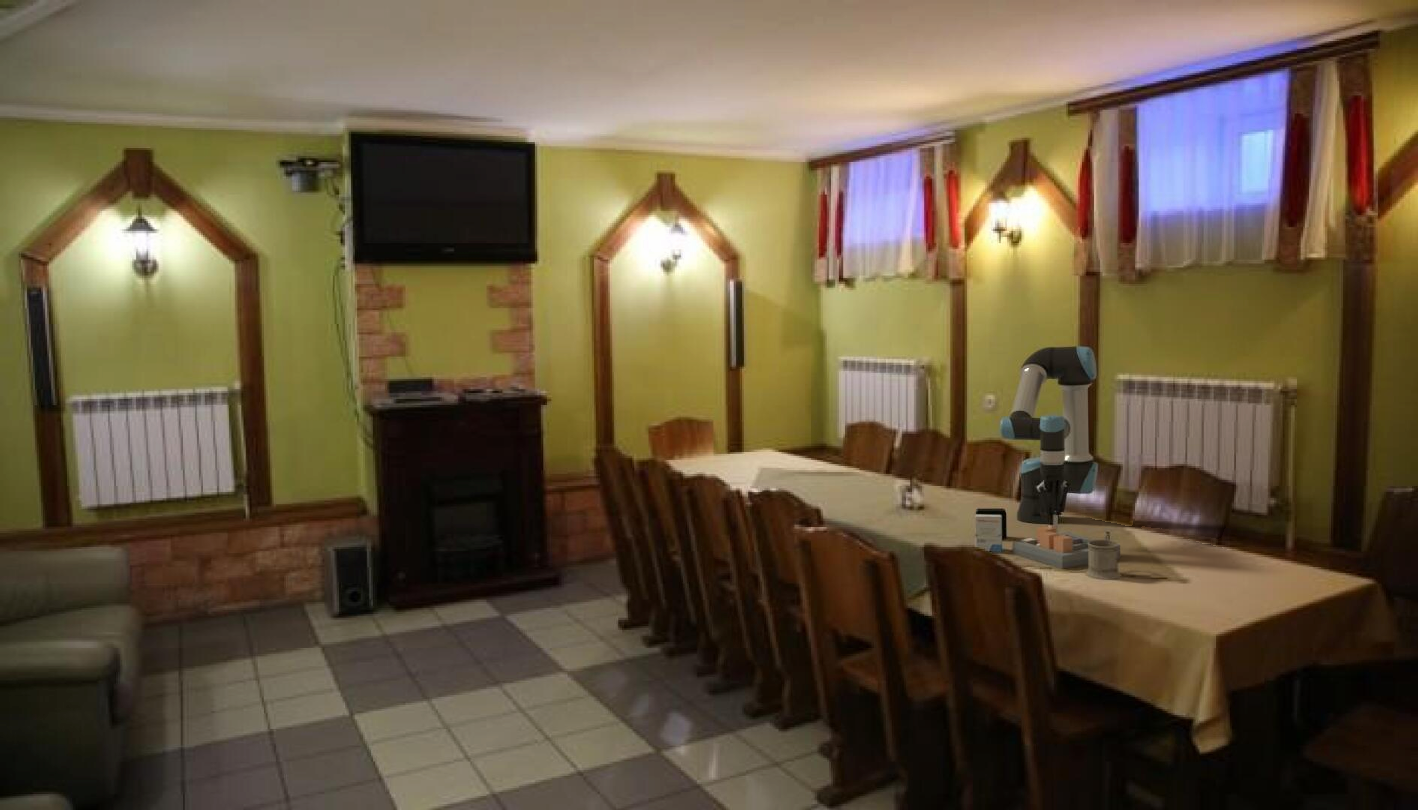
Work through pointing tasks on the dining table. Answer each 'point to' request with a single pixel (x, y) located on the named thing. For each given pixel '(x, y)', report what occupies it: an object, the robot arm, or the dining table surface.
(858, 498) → the dining table surface
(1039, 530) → the tab
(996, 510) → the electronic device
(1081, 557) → the grey divided tray
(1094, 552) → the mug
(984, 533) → the ink box
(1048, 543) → the tab
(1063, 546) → the orange block
